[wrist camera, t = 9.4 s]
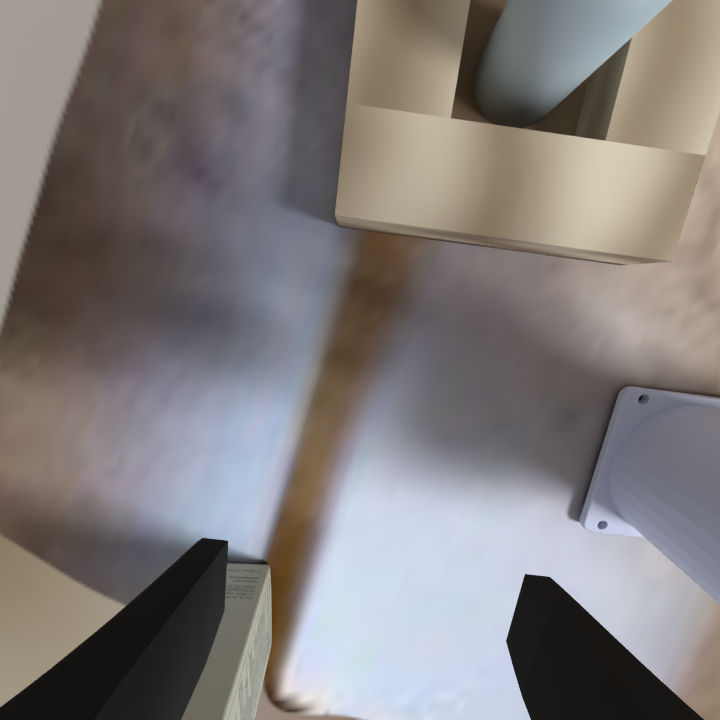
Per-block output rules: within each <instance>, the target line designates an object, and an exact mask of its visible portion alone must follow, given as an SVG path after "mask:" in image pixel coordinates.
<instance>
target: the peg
mask: <svg viewBox="0 0 720 720" xmlns="http://www.w3.org/2000/svg"><path fill="white" fill-rule="evenodd" d="M671 1H673V0H508V2H507V4H506V6H505V8H504V10H503V11H502V13H501V15H500V17H499V19H498V21H497V23H496V25H495V27H494V29H493V31H492V33H491V34H490V36H489V38H488V40H487V42H486V44H485V46H484V48H483V50H482V52H481V54H480V56H479V58H478V60H477V63H476V66H475V70H474V76H473V89H474V95H475V99H476V102H477V105H478V107H479V109H480V110H481V112H482V113H483V115H484V116H485V117H486V118H487V119H488V120H489V121H490V122H492V123H493V124H495V125H501V126H507V127H514V128H521V129H523V128H526V127H529V126H531V125H533V124H535V123H537V122H538V121H540V120H541V119H542V118H544V117H545V116H546V115H547V114H548V113H549V112H550V111H551V110H552V109H553V108H555V107H556V106H557V105H558V104H559V103H560V102H561V101H562V100H563V99H564V98H566V97H567V96H568V95H569V94H570V93H571V92H572V91H573V90H574V89H575V88H577V87H578V86H579V85H580V84H581V83H582V82H583V81H584V80H585V79H587V78H588V77H589V76H590V75H591V74H592V73H593V72H594V71H595V70H596V69H598V68H599V67H600V66H601V65H602V64H603V63H604V62H605V61H606V60H607V59H609V58H610V57H611V56H612V55H613V54H614V53H615V52H616V51H617V50H618V49H620V48H621V47H622V46H623V45H624V44H625V43H626V42H627V41H628V40H630V39H631V38H632V37H633V36H634V35H635V34H636V33H637V32H638V31H639V30H641V29H642V28H643V27H644V26H645V25H646V24H647V23H648V22H649V21H650V20H652V19H653V18H654V17H655V16H656V15H657V14H658V13H659V12H660V11H662V10H663V9H664V8H665V7H666V6H667V5H668V4H669V3H670V2H671Z"/></svg>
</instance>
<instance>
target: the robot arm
mask: <svg viewBox="0 0 720 720" xmlns="http://www.w3.org/2000/svg"><path fill="white" fill-rule="evenodd" d="M641 395H643V398H642V399H641V400H640V401H639V402H638V399H639V397H640V396H641ZM600 521H602V522H601V523H599V522H600ZM598 523H599V524H598ZM580 524H581V525H582V526H583V527H584V528H585V529H586V530H587V531H591V532H600V533H609V534H617V535H626V536H635V537H643V538H646V539H647V540H648V541H649V542H651V543H652V544H653V545H654V546H655V547H656V548H657V549H658V550H659V551H661V552H662V553H663V554H664V555H665V556H666V557H667V558H668V559H670V560H671V561H672V562H673V563H674V564H675V565H676V566H677V567H679V568H680V569H681V570H682V571H683V572H684V573H685V574H686V575H687V576H689V577H690V578H691V579H692V580H693V581H694V582H695V583H696V584H698V585H699V586H700V587H701V588H702V589H703V590H704V591H705V592H707V593H708V594H709V595H710V596H711V597H712V598H713V599H714V600H715V601H717V602H718V603H719V604H720V398H719V397H711V396H703V395H695V394H688V393H680V392H672V391H664V390H656V389H648V388H640V387H633V386H629V387H625V388H623V389H622V390H621V391H620V392H619V394H618V397H617V401H616V404H615V407H614V410H613V413H612V417H611V420H610V423H609V426H608V429H607V433H606V436H605V439H604V442H603V446H602V449H601V452H600V455H599V458H598V462H597V465H596V468H595V471H594V474H593V478H592V481H591V484H590V487H589V491H588V494H587V497H586V500H585V503H584V507H583V510H582V513H581V516H580ZM227 552H228V541H225V540H216V539H207V538H202V539H200V540H199V541H198V542H197V543H195V544H194V545H193V546H192V547H191V548H190V549H189V550H188V551H187V552H186V553H185V554H184V555H182V556H181V557H180V558H179V559H178V560H177V561H176V562H175V563H174V564H173V565H172V566H171V567H169V568H168V569H167V570H166V571H165V572H164V573H163V574H162V575H161V576H160V577H158V578H157V579H156V580H155V581H154V582H153V583H152V584H151V585H150V586H148V587H147V588H146V589H145V590H144V591H143V592H142V593H141V594H139V595H138V596H137V597H136V598H135V599H134V600H132V601H131V602H130V603H129V604H128V605H127V606H126V607H124V608H123V609H122V610H121V611H120V612H119V613H118V614H117V615H115V616H114V617H113V618H112V619H111V620H109V621H108V622H107V623H106V624H105V625H104V626H103V627H101V628H100V629H99V630H98V631H97V632H95V633H94V634H93V635H92V636H90V637H89V638H88V639H87V640H85V641H84V642H83V643H82V644H80V645H79V646H78V647H77V648H76V649H74V650H73V651H72V652H71V653H69V654H68V655H67V656H66V657H64V658H63V659H62V660H61V661H59V662H58V663H57V664H56V665H55V666H53V667H52V668H51V669H50V670H48V671H47V672H46V673H44V674H43V675H42V676H41V677H39V678H38V679H37V680H35V681H34V682H33V683H32V684H30V685H29V686H28V687H27V688H25V689H24V690H23V691H21V692H20V693H19V694H18V695H16V696H15V697H13V698H12V699H11V700H9V701H8V702H7V703H5V704H4V705H3V706H1V707H0V720H181V719H182V717H183V714H184V712H185V710H186V708H187V706H188V703H189V701H190V699H191V697H192V694H193V692H194V690H195V688H196V685H197V683H198V681H199V679H200V676H201V674H202V672H203V670H204V667H205V665H206V662H207V660H208V657H209V654H210V651H211V648H212V646H213V643H214V640H215V637H216V634H217V631H218V628H219V625H220V622H221V620H222V617H223V614H224V611H225V591H226V571H227ZM506 642H507V646H508V649H509V653H510V656H511V660H512V664H513V667H514V671H515V674H516V677H517V681H518V684H519V687H520V691H521V694H522V697H523V700H524V703H525V705H526V708H527V710H528V713H529V716H530V718H531V720H704V719H703V718H701V717H700V716H699V715H698V714H697V713H696V712H695V711H693V710H692V709H691V708H690V707H689V706H688V705H687V704H686V703H685V702H683V701H682V700H681V699H680V698H679V697H678V696H677V695H676V694H675V693H674V692H672V691H671V690H670V689H669V688H668V687H667V686H666V685H665V684H664V683H663V682H661V681H660V680H659V679H658V678H657V677H656V676H655V675H654V674H653V673H652V672H651V671H650V670H648V669H647V668H646V667H645V666H644V665H643V664H642V663H641V662H640V661H639V660H638V659H637V658H636V657H635V656H633V655H632V654H631V653H630V652H629V651H628V650H627V649H626V648H625V647H624V646H623V645H622V644H621V643H620V642H619V641H618V640H617V639H615V638H614V637H613V636H612V635H611V634H610V633H609V632H608V631H607V630H606V629H605V628H604V627H603V626H602V625H601V624H600V623H599V622H598V621H597V620H596V619H594V618H593V617H592V616H591V615H590V614H589V613H588V612H587V611H586V610H585V609H584V608H583V607H582V606H581V605H580V604H579V603H578V602H577V601H576V600H574V599H573V598H572V597H571V596H570V595H569V594H568V593H567V592H566V591H565V590H564V589H563V588H562V587H560V586H559V585H558V584H557V583H556V582H555V581H554V580H553V579H551V578H550V577H545V576H536V575H527V574H525V576H524V580H523V583H522V587H521V590H520V594H519V598H518V601H517V605H516V608H515V612H514V615H513V619H512V622H511V626H510V629H509V633H508V636H507V640H506Z"/></svg>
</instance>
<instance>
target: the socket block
mask: <svg viewBox="0 0 720 720" xmlns="http://www.w3.org/2000/svg"><path fill="white" fill-rule="evenodd" d="M507 2H508V0H357V9H356V19H355V28H354V38H353V47H352V57H351V66H350V76H349V85H348V95H347V104H346V113H345V123H344V132H343V142H342V151H341V161H340V170H339V180H338V189H337V199H336V208H335V217H336V220H337V222H338V225H339V227H345V228H352V229H360V230H367V231H374V232H382V233H389V234H396V235H403V236H411V237H418V238H425V239H433V240H440V241H447V242H455V243H462V244H469V245H477V246H484V247H491V248H499V249H506V250H513V251H521V252H528V253H535V254H543V255H550V256H557V257H565V258H572V259H579V260H586V261H594V262H601V263H608V264H616V265H631V264H644V263H658V262H672V259H673V256H674V253H675V250H676V247H677V244H678V240H679V237H680V234H681V231H682V228H683V225H684V222H685V218H686V215H687V212H688V209H689V206H690V203H691V200H692V196H693V193H694V190H695V187H696V184H697V181H698V178H699V175H700V171H701V168H702V165H703V162H704V159H705V156H706V153H707V149H708V146H709V143H710V140H711V137H712V134H713V131H714V127H715V124H716V121H717V118H718V115H719V112H720V0H673V1H671V2H670V3H669V4H668V5H667V6H666V7H665V8H664V9H663V10H662V11H660V12H659V13H658V14H657V15H656V16H655V17H654V18H653V19H652V20H650V21H649V22H648V23H647V24H646V25H645V26H644V27H643V28H642V29H641V30H639V31H638V32H637V33H636V34H635V35H634V36H633V37H632V38H631V39H630V40H628V41H627V42H626V43H625V44H624V45H623V46H622V47H621V48H620V49H618V50H617V51H616V52H615V53H614V54H613V55H612V56H611V57H610V58H609V59H607V60H606V61H605V62H604V63H603V64H602V65H601V66H600V67H599V68H598V69H596V70H595V71H594V72H593V73H592V74H591V75H590V76H589V77H588V78H587V79H585V80H584V81H583V82H582V83H581V84H580V85H579V86H578V87H577V88H575V89H574V90H573V91H572V92H571V93H570V94H569V95H568V96H567V97H566V98H564V99H563V100H562V101H561V102H560V103H559V104H558V105H557V106H556V107H555V108H553V109H552V110H551V111H550V112H549V113H548V114H547V115H546V116H545V117H544V118H542V119H541V120H540V121H538V122H537V123H535V124H533V125H531V126H529V127H526V128H523V129H521V128H514V127H507V126H501V125H495V124H493V123H492V122H490V121H489V120H488V119H487V118H486V117H485V116H484V115H483V113H482V112H481V110H480V109H479V107H478V105H477V102H476V99H475V95H474V89H473V76H474V70H475V66H476V63H477V60H478V58H479V56H480V54H481V52H482V50H483V48H484V46H485V44H486V42H487V40H488V38H489V36H490V34H491V33H492V31H493V29H494V27H495V25H496V23H497V21H498V19H499V17H500V15H501V13H502V11H503V10H504V8H505V6H506V4H507Z"/></svg>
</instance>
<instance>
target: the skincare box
mask: <svg viewBox="0 0 720 720" xmlns="http://www.w3.org/2000/svg"><path fill="white" fill-rule="evenodd" d="M271 638H272V607H271V575H270V566H269V565H258V564H232V563H231V564H230V563H227V571H226V591H225V611H224V614H223V617H222V620H221V622H220V625H219V628H218V631H217V634H216V637H215V640H214V643H213V646H212V648H211V651H210V654H209V657H208V660H207V662H206V665H205V667H204V670H203V672H202V674H201V676H200V679H199V681H198V683H197V685H196V688H195V690H194V692H193V694H192V697H191V699H190V701H189V703H188V706H187V708H186V710H185V712H184V714H183V717H182V719H181V720H254V719H255V715H256V710H257V706H258V702H259V697H260V693H261V688H262V684H263V680H264V675H265V671H266V667H267V662H268V658H269V653H270V649H271Z"/></svg>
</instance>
